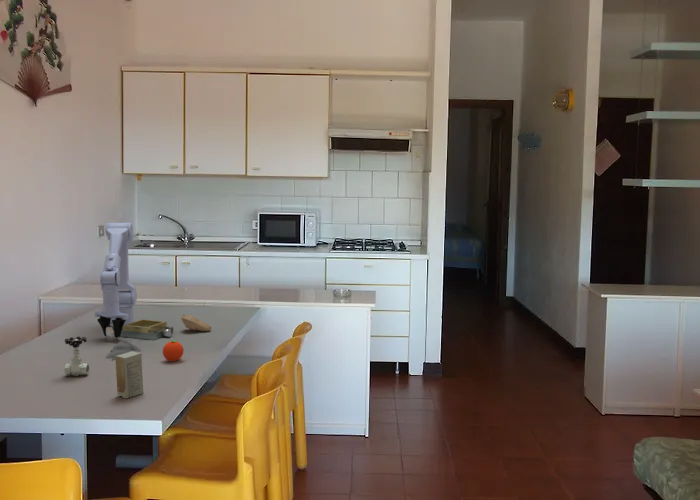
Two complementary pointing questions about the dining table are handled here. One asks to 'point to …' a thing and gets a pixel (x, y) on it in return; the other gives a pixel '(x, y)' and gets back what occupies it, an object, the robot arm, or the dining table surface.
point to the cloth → (122, 349)
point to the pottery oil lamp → (195, 323)
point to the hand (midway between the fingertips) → (112, 336)
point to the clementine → (173, 351)
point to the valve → (76, 358)
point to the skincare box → (129, 374)
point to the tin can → (110, 334)
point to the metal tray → (147, 329)
